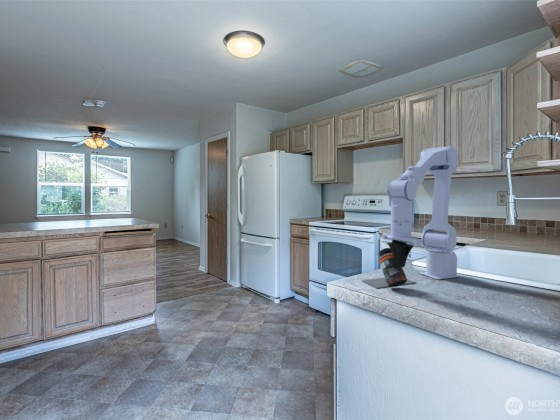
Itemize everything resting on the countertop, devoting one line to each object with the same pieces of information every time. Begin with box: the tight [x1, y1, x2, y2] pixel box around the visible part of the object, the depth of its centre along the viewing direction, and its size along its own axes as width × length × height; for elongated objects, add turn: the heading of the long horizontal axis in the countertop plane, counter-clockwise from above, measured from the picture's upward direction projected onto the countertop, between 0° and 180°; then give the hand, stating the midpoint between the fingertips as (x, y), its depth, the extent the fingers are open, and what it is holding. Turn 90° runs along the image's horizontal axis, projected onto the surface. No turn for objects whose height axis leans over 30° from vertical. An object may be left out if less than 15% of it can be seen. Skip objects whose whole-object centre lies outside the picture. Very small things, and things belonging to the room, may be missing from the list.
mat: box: [361, 277, 417, 289], centre depth 102 cm, size 15×8×1 cm, turn 109°
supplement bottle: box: [378, 247, 408, 288], centre depth 97 cm, size 6×6×11 cm
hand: (400, 266), depth 93 cm, fingers closed
